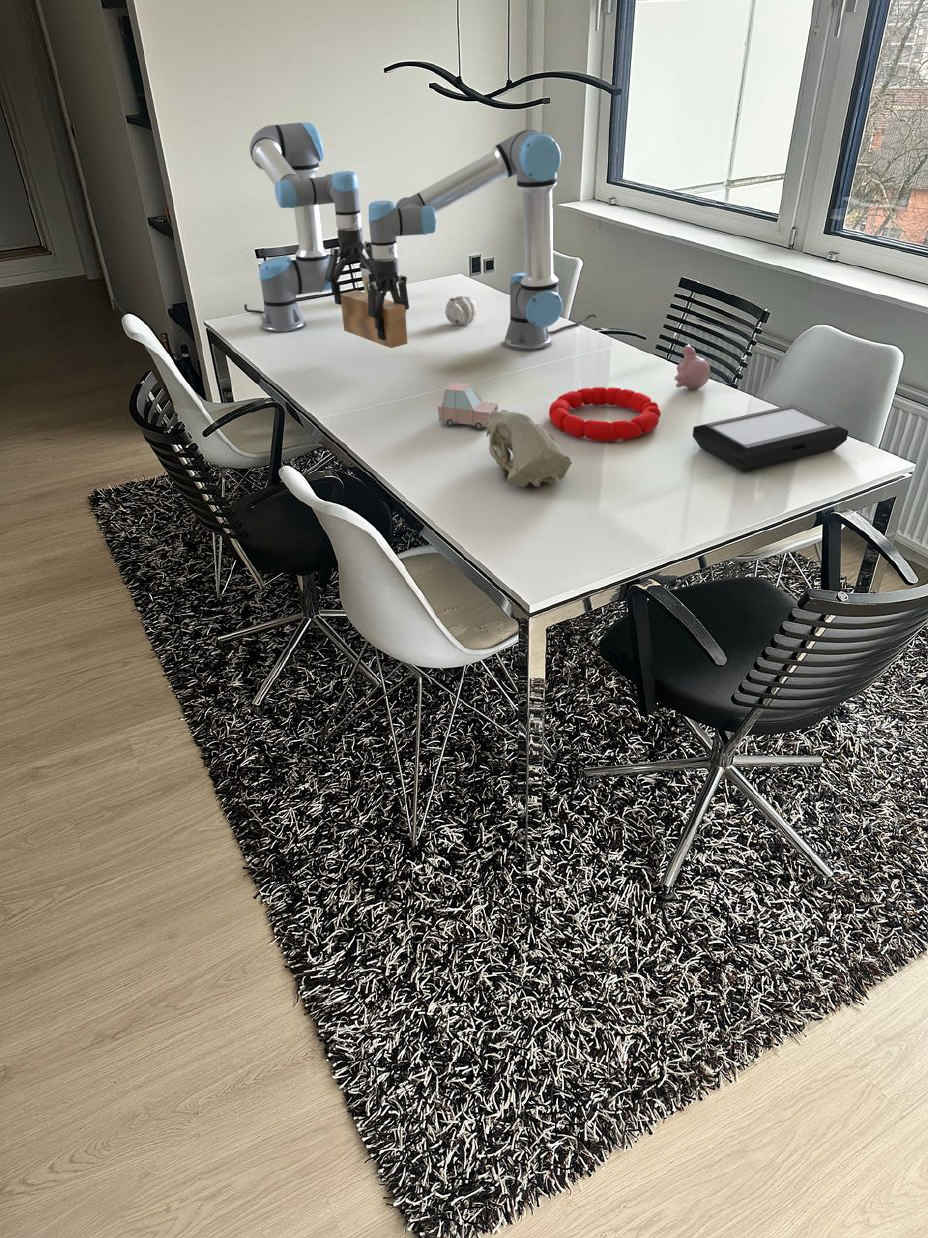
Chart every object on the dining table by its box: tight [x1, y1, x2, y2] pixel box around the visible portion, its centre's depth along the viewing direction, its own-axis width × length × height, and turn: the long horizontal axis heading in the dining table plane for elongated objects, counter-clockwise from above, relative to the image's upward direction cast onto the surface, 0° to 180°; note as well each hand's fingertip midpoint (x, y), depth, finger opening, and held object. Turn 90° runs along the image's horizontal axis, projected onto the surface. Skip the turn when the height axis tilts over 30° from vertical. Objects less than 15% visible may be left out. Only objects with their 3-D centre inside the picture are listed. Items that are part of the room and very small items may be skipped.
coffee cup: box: [358, 257, 382, 297], centre depth 348 cm, size 10×10×15 cm
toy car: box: [437, 382, 499, 431], centre depth 243 cm, size 9×15×10 cm, turn 70°
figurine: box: [674, 344, 711, 390], centre depth 259 cm, size 9×11×12 cm
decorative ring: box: [548, 386, 661, 442], centre depth 242 cm, size 7×30×30 cm
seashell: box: [444, 295, 478, 326], centre depth 319 cm, size 10×15×10 cm
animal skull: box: [485, 409, 573, 489], centre depth 216 cm, size 17×25×20 cm
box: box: [341, 289, 408, 349], centre depth 280 cm, size 26×6×12 cm, turn 40°
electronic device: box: [692, 404, 850, 473], centre depth 224 cm, size 32×6×20 cm
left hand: (356, 299), depth 284 cm, fingers open, 13 cm apart
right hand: (390, 336), depth 277 cm, fingers closed on box, 6 cm apart
